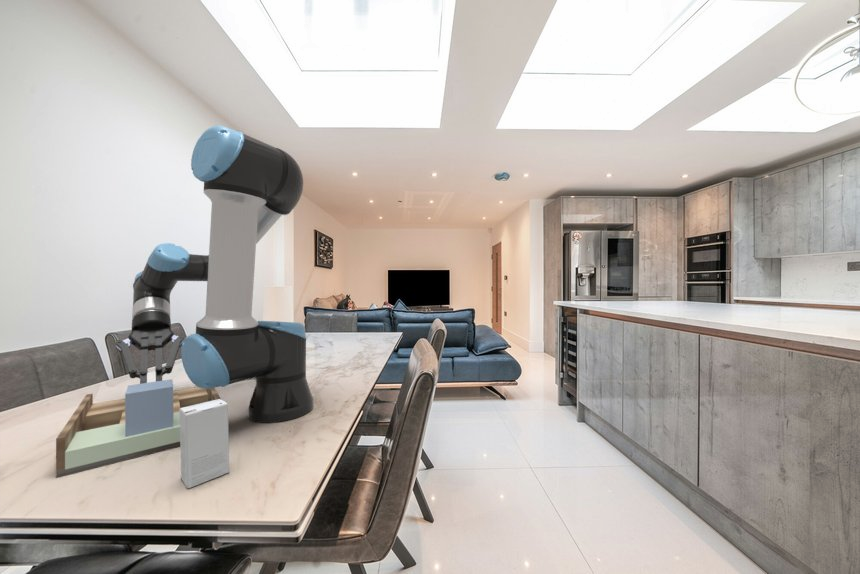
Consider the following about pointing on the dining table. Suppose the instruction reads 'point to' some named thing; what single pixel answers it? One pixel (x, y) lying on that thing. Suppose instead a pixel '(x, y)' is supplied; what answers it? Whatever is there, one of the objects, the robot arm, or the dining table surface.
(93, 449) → the pad
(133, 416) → the slate block
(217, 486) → the dining table surface
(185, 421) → the skincare box
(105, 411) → the box
